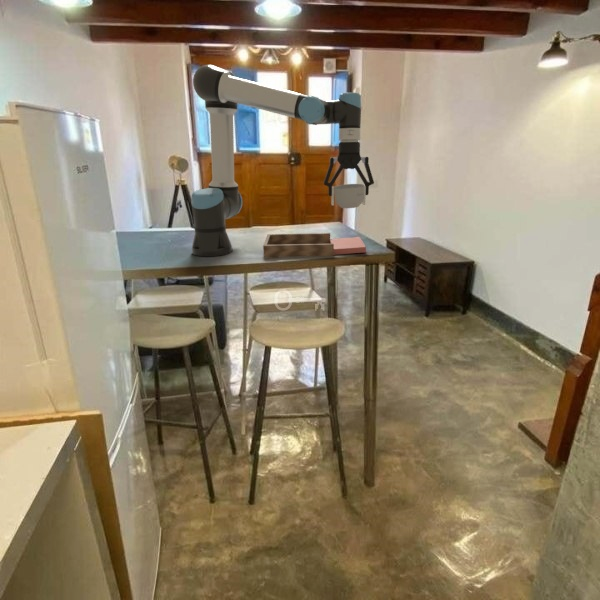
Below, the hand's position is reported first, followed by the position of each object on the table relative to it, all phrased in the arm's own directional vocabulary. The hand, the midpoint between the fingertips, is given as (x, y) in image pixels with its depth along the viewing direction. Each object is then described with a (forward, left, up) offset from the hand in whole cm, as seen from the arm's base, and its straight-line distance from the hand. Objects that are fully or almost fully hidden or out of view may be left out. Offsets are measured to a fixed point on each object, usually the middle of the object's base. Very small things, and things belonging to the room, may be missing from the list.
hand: (348, 204), depth 156 cm
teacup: (0, 0, -1) cm, 1 cm away
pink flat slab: (-6, 0, -17) cm, 18 cm away
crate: (-19, 0, -17) cm, 25 cm away
